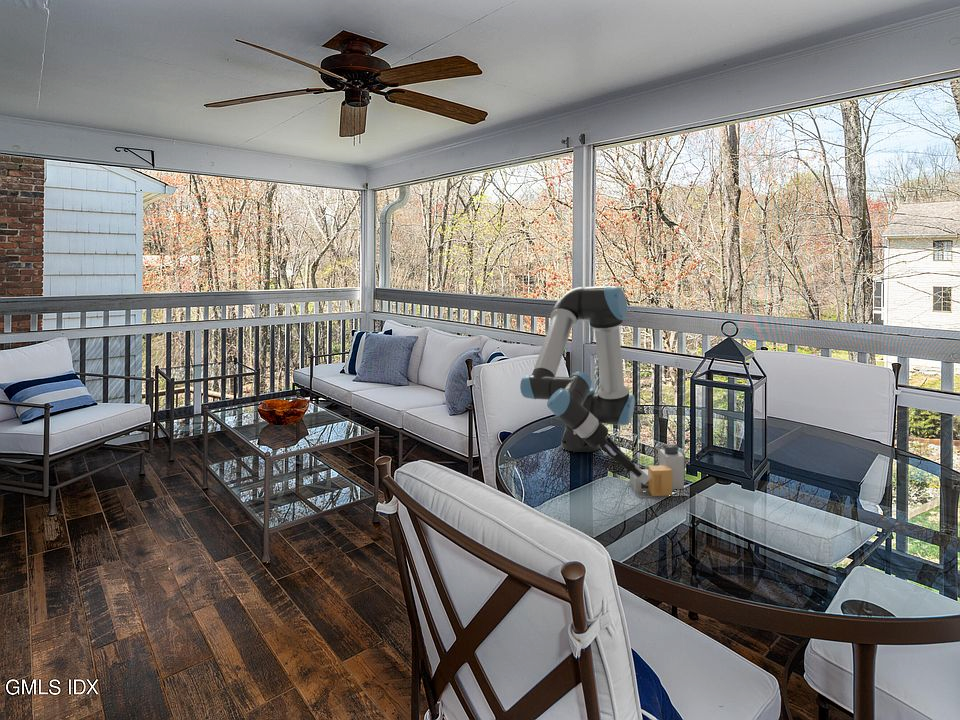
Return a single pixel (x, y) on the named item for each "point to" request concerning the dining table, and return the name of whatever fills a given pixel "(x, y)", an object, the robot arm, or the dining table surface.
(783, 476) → the dining table surface
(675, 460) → the white small appliance
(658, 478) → the orange wooden block
